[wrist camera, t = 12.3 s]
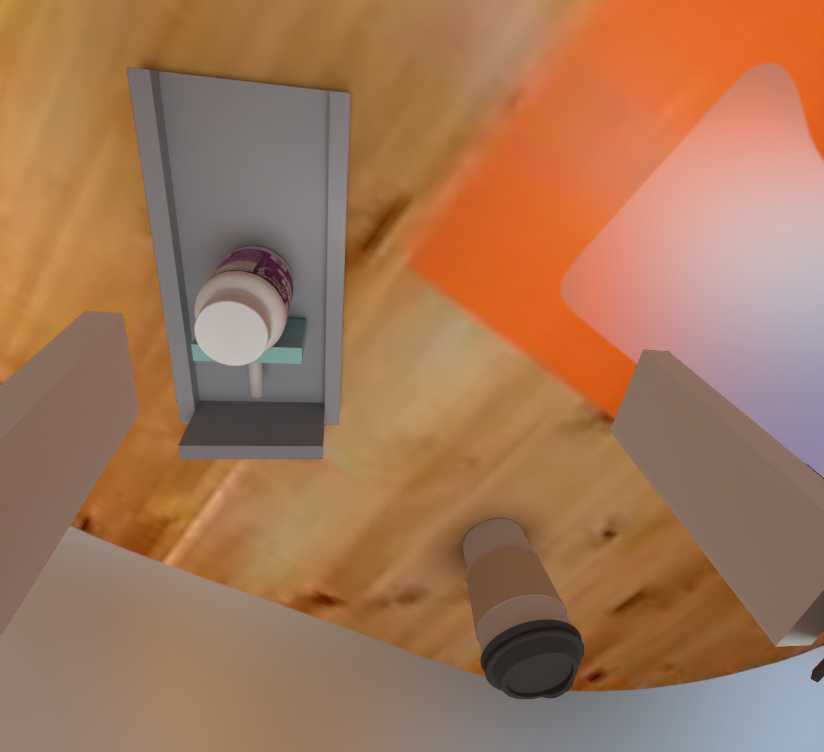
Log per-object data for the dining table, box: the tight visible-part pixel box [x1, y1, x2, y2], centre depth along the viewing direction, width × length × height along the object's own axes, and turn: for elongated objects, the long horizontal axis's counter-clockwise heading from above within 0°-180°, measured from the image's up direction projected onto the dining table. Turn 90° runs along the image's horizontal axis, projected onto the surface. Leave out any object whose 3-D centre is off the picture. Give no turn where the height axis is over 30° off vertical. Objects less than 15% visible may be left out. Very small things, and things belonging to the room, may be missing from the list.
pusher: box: [191, 318, 306, 398], centre depth 36 cm, size 5×7×5 cm
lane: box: [126, 67, 350, 459], centre depth 33 cm, size 24×12×7 cm, turn 174°
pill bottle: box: [194, 246, 294, 366], centre depth 31 cm, size 5×5×10 cm
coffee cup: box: [463, 519, 584, 699], centre depth 47 cm, size 9×9×15 cm
